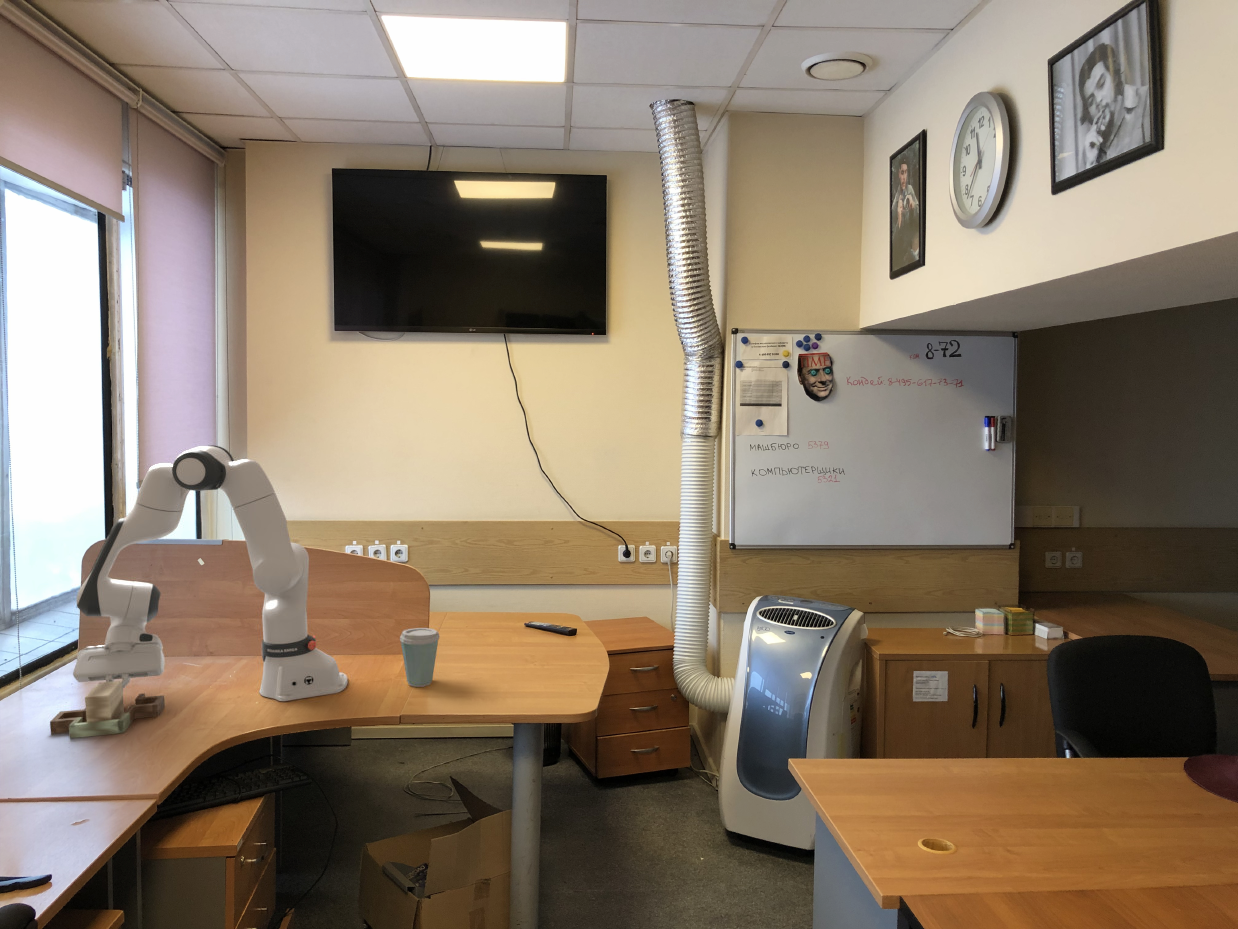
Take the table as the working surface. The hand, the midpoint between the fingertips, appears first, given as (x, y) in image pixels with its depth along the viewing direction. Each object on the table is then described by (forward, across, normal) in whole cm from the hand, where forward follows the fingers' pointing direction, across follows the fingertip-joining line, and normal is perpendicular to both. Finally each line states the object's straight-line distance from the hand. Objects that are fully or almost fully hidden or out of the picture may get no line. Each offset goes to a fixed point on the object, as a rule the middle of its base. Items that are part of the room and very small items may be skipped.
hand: (115, 693), depth 212 cm
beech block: (+9, 0, -2) cm, 9 cm away
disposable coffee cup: (+3, +75, +4) cm, 75 cm away
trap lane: (+7, 0, 0) cm, 7 cm away
